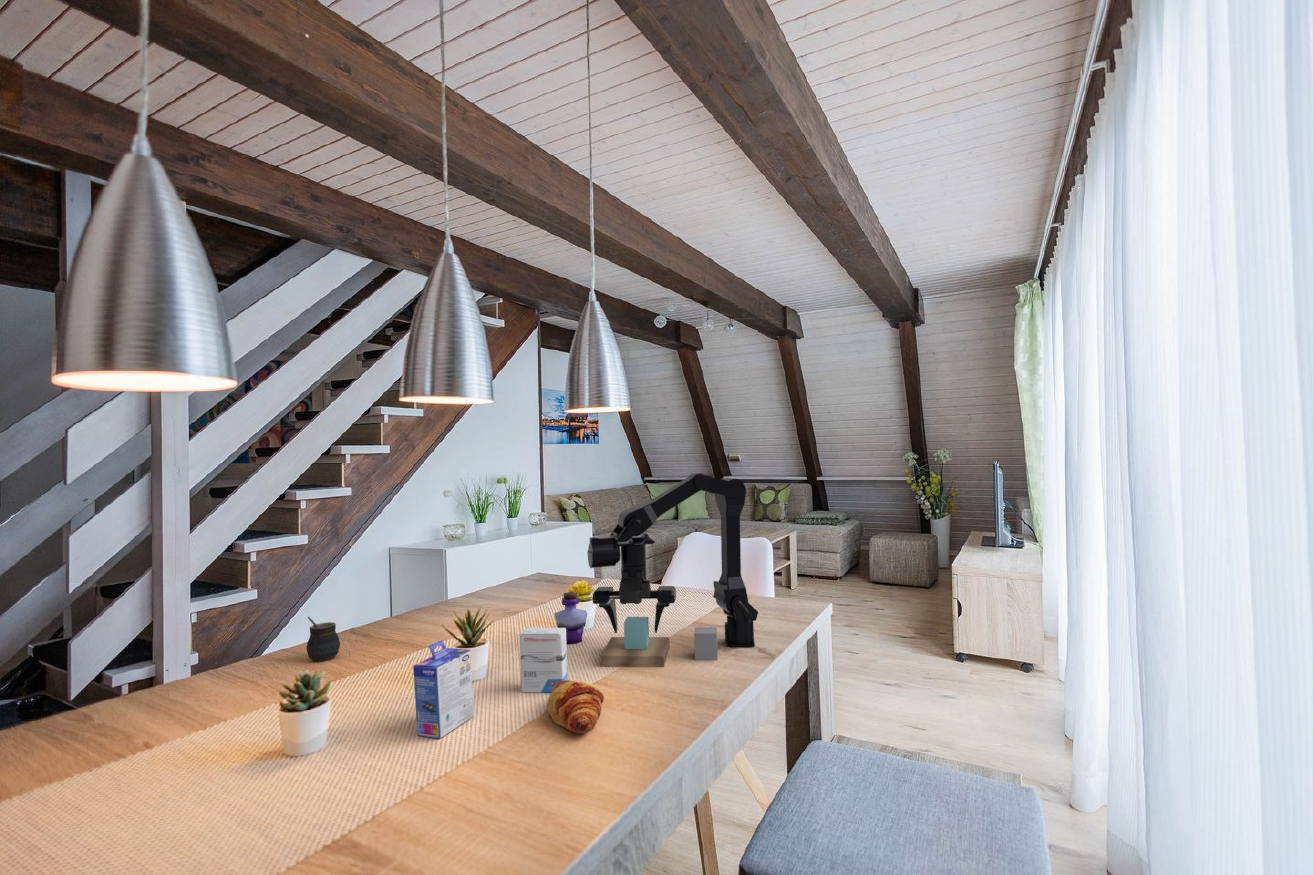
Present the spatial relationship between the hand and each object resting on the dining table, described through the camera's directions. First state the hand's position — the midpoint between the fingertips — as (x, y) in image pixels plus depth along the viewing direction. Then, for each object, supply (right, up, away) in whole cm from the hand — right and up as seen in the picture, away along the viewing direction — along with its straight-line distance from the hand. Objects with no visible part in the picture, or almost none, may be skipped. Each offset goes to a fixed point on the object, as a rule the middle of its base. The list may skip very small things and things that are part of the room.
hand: (635, 632), depth 151 cm
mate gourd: (-75, -8, +6) cm, 75 cm away
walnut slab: (0, -6, 0) cm, 6 cm away
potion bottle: (-17, -6, +14) cm, 22 cm away
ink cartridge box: (-33, -6, -35) cm, 48 cm away
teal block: (0, -3, 0) cm, 3 cm away
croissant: (-10, -6, -32) cm, 34 cm away
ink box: (-18, -6, -18) cm, 26 cm away
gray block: (+16, -5, -2) cm, 17 cm away
